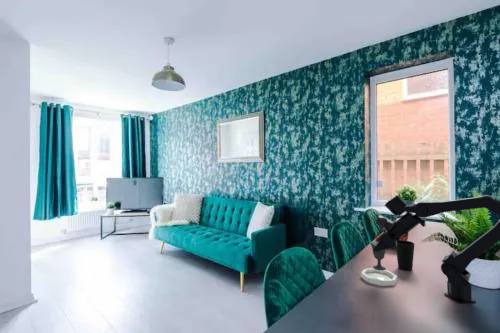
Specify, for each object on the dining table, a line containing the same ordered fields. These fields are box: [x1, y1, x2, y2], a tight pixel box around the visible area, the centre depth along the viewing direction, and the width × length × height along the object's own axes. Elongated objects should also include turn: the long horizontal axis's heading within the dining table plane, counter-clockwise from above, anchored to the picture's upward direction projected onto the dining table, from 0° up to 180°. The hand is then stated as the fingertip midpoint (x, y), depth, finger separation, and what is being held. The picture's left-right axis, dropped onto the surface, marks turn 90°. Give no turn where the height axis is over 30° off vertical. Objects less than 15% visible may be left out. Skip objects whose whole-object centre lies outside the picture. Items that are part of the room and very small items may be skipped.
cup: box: [395, 240, 415, 272], centre depth 121 cm, size 8×8×12 cm
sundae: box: [369, 233, 387, 270], centre depth 110 cm, size 7×7×15 cm
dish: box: [360, 267, 398, 287], centre depth 110 cm, size 13×13×2 cm
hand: (375, 248), depth 111 cm, fingers closed on sundae, 7 cm apart
